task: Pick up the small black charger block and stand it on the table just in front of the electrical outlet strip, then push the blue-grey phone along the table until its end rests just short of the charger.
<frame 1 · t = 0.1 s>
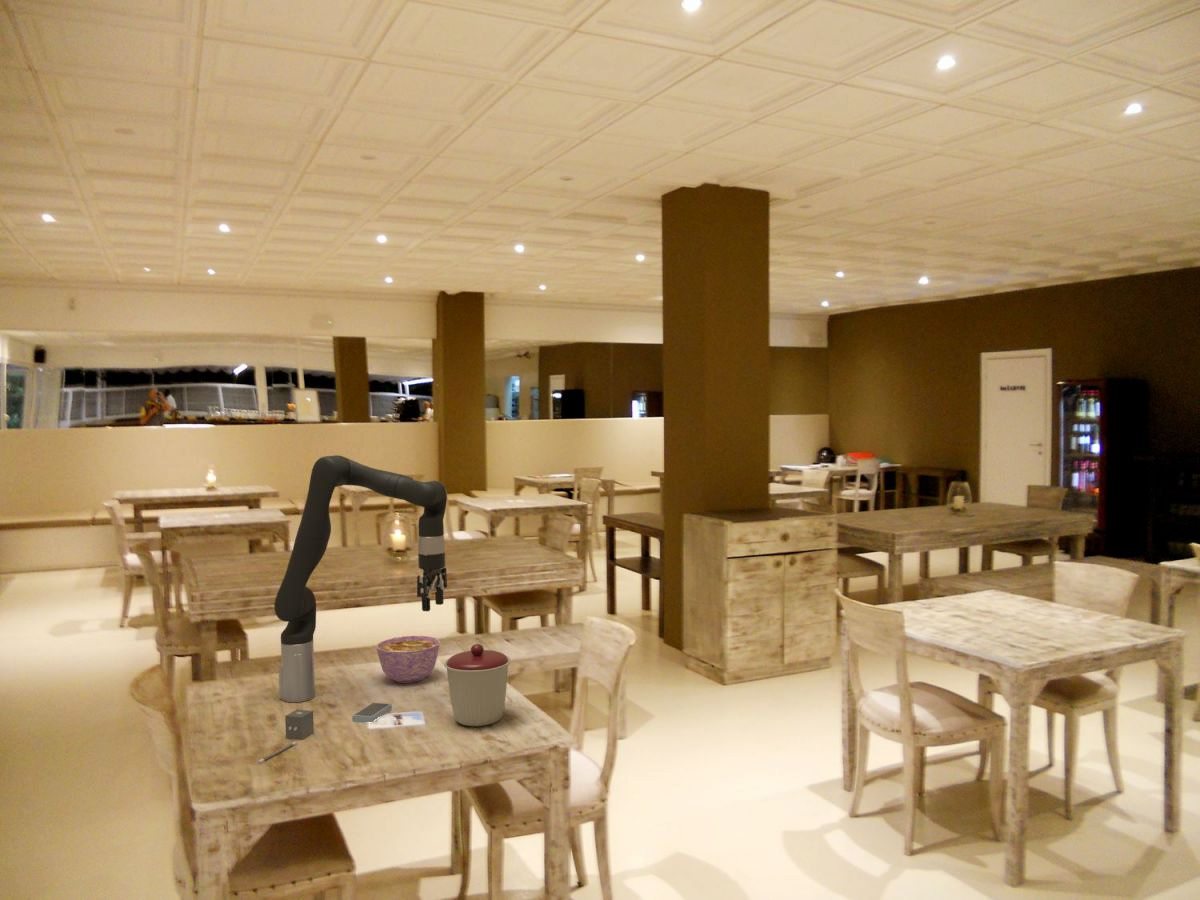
hand: (432, 607, 245), 29 cm above the table, tool pointing down, fingers open, 8 cm apart
phone: (372, 717, 241), on the table
charger: (300, 735, 227), on the table
canister: (478, 721, 236), on the table
bowl of food: (409, 679, 274), on the table
cable: (278, 753, 214), on the table
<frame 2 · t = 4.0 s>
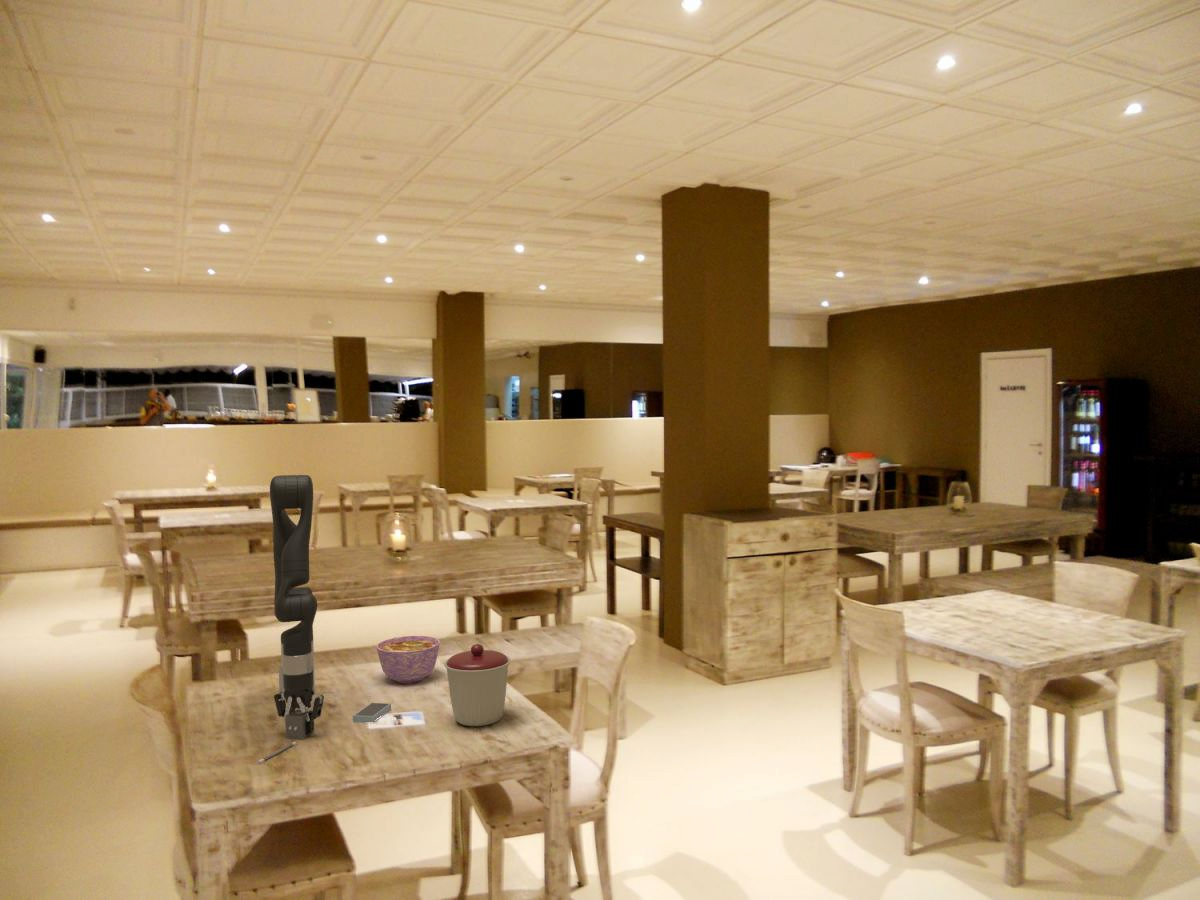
hand: (300, 732, 226), 1 cm above the table, tool pointing down, fingers closed on charger, 5 cm apart
charger: (300, 735, 227), on the table, touching gripper
everything else where it was.
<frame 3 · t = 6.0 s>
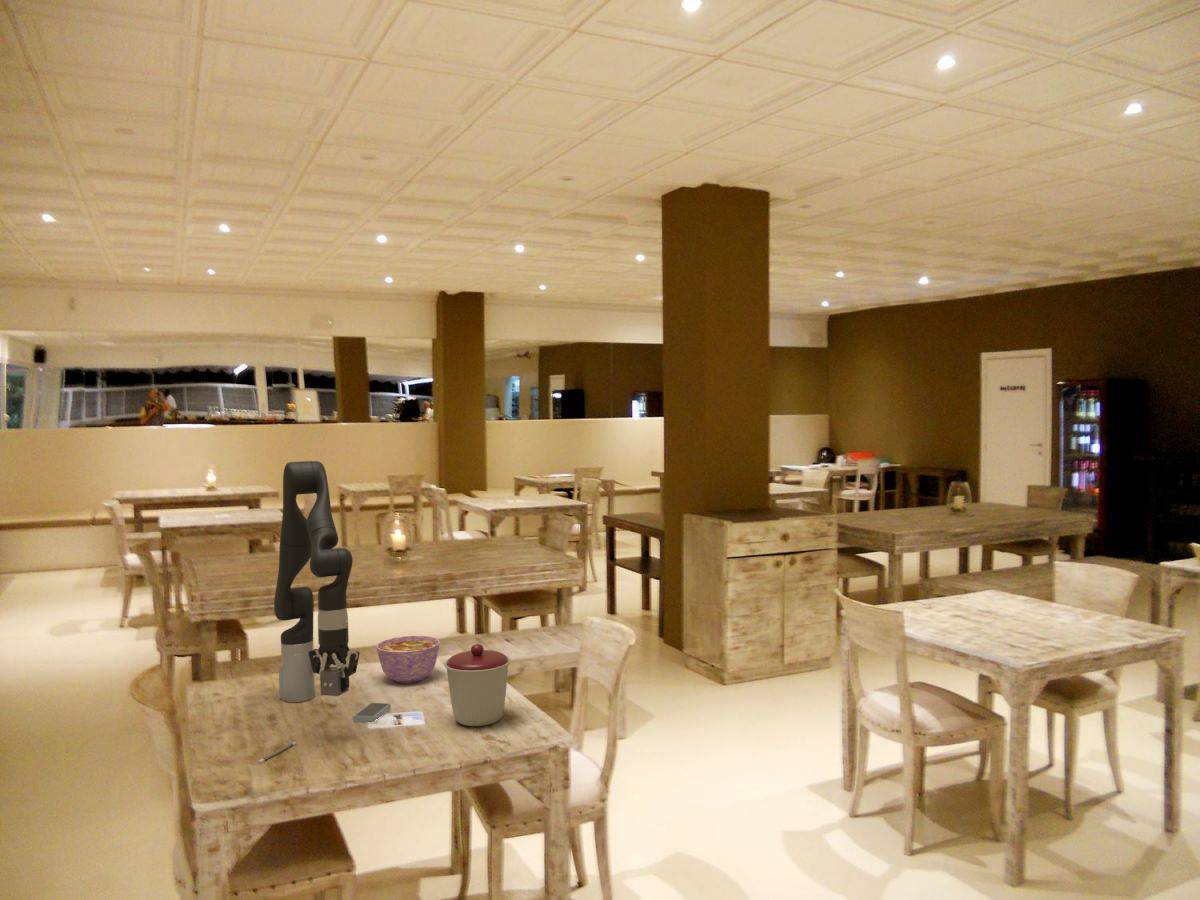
hand: (335, 689, 223), 13 cm above the table, tool pointing down, fingers closed on charger, 5 cm apart
charger: (334, 692, 223), point 12 cm above the table, touching gripper
everything else where it was.
when the fingers open (2 cm above the table, at t = 8.0 s): charger drops 1 cm, on the table.
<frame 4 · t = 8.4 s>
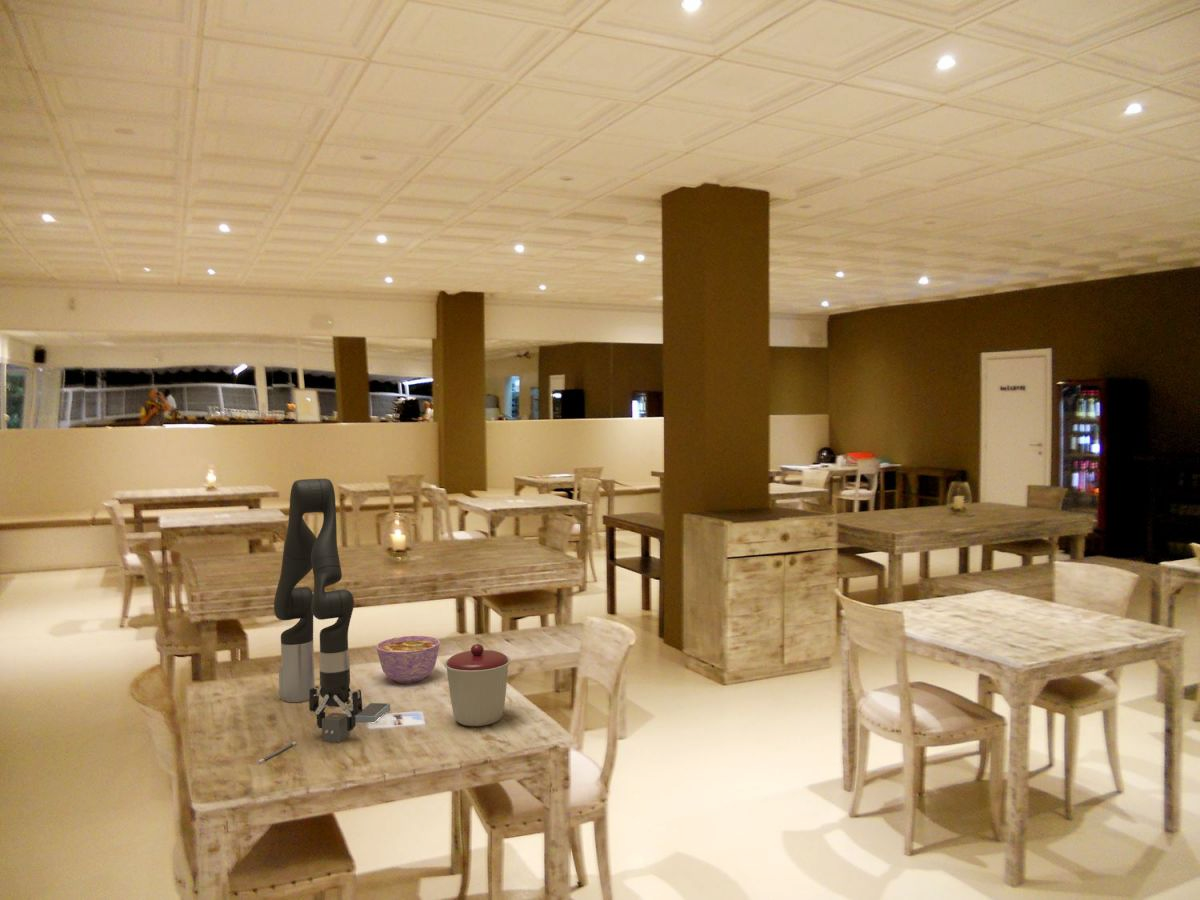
hand: (336, 728, 224), 3 cm above the table, tool pointing down, fingers open, 8 cm apart
charger: (336, 739, 224), on the table
everything else where it was.
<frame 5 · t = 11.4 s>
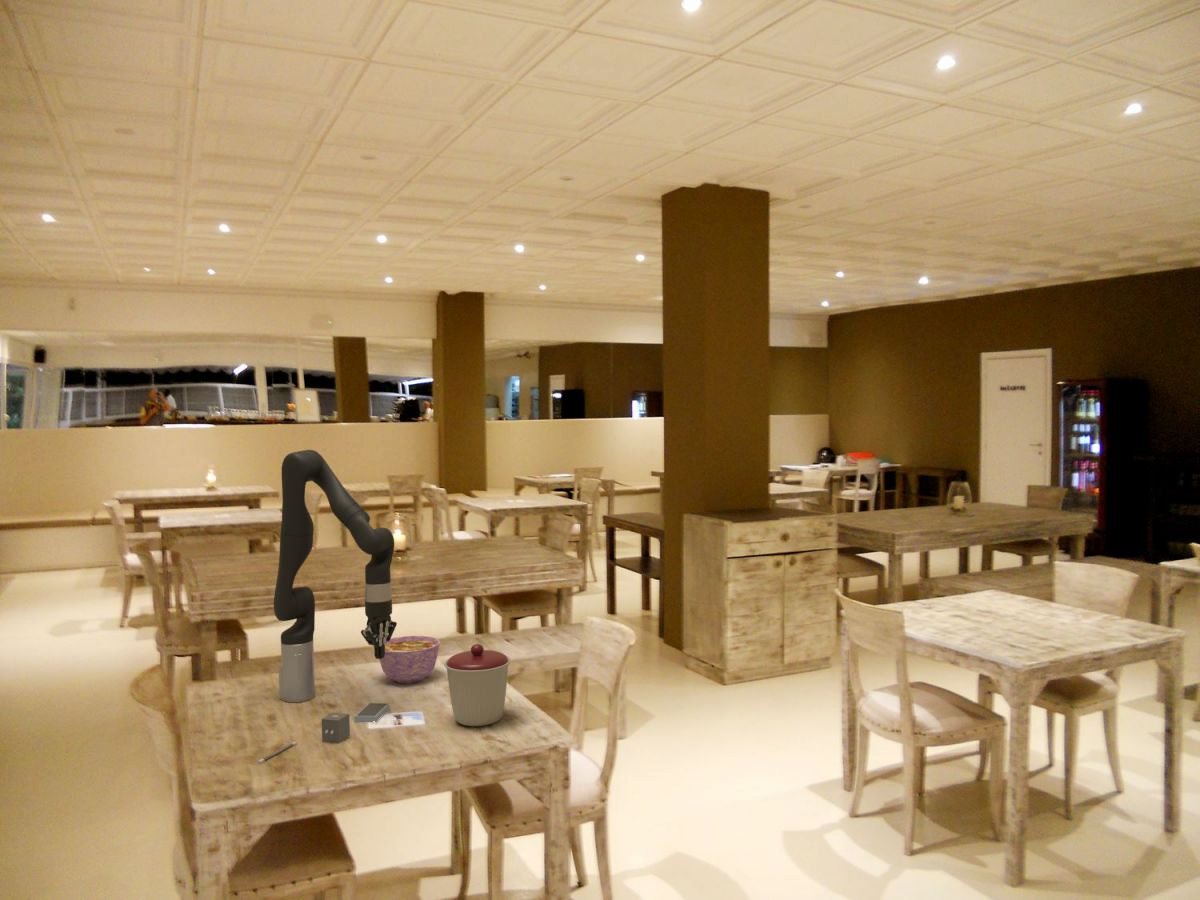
hand: (379, 658, 245), 15 cm above the table, tool pointing down, fingers closed
nothing on the table moved.
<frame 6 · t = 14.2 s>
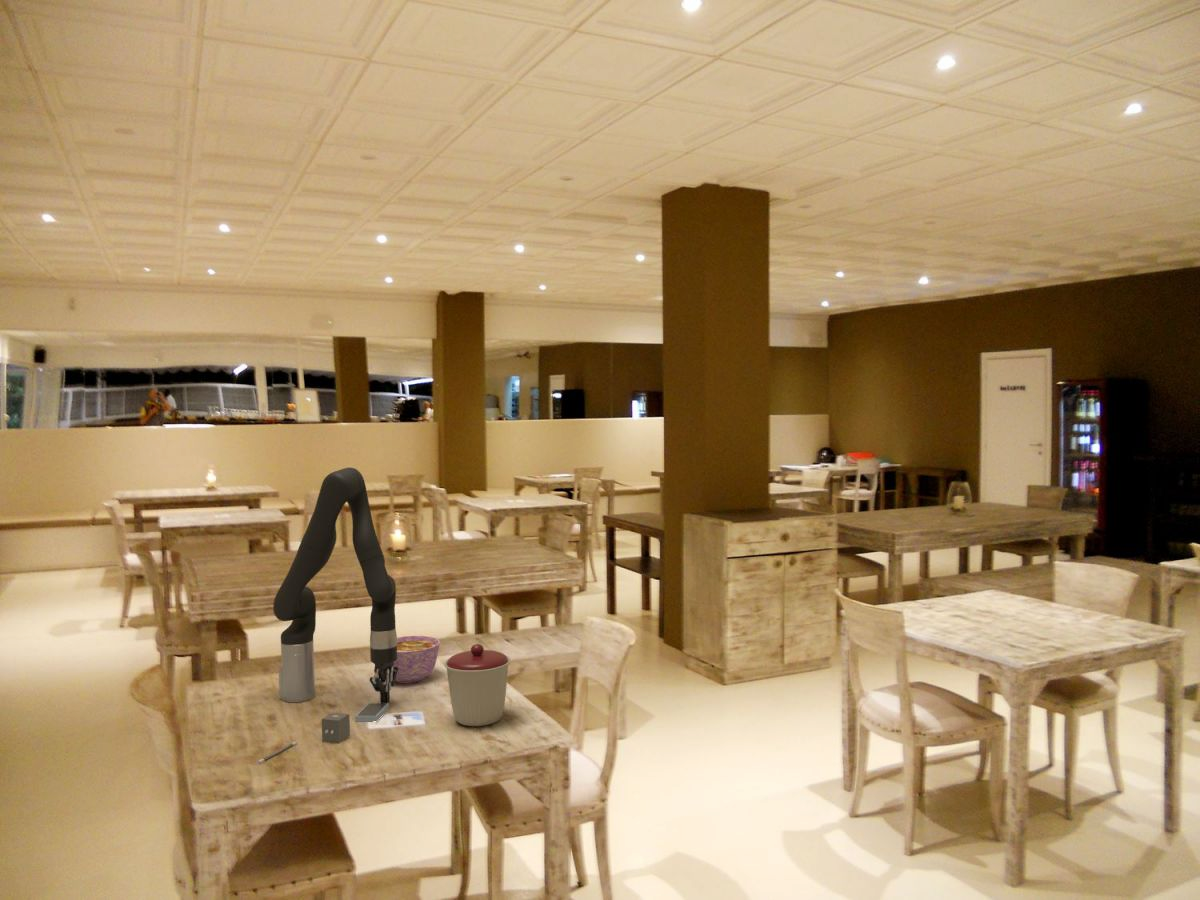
hand: (385, 703, 248), 1 cm above the table, tool pointing down, fingers closed
phone: (372, 717, 241), on the table, touching gripper
everything else where it was.
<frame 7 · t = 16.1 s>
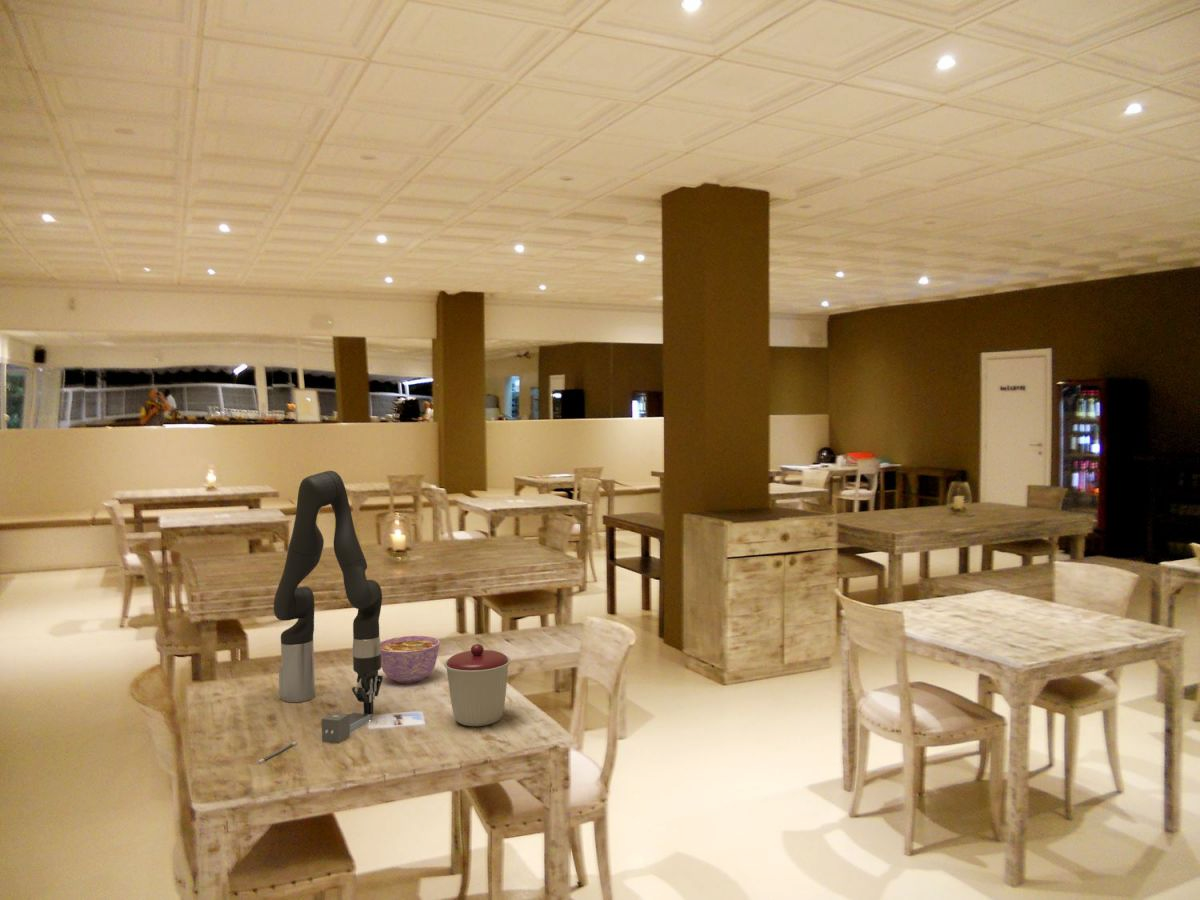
hand: (368, 714, 239), 1 cm above the table, tool pointing down, fingers closed
phone: (349, 727, 233), on the table, touching gripper
everything else where it was.
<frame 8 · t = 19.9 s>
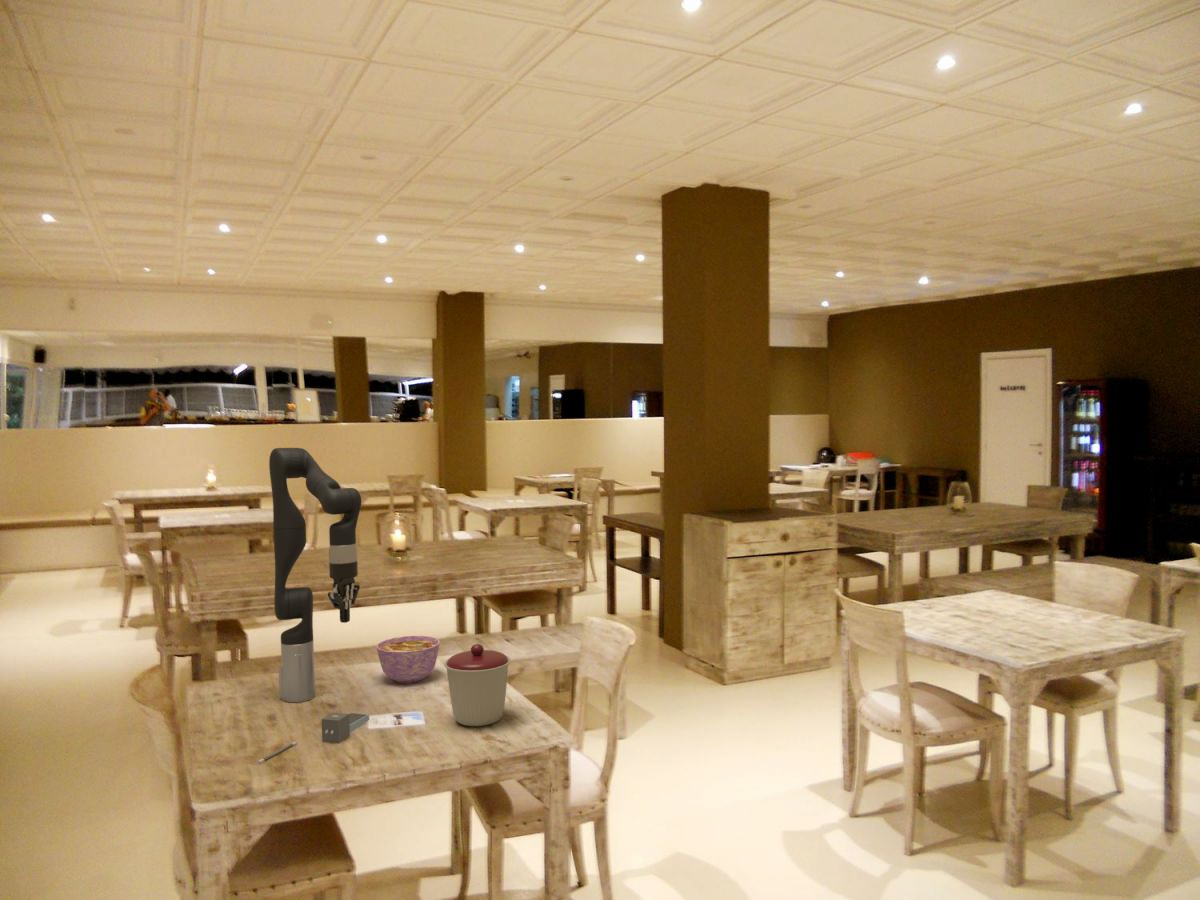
hand: (345, 621, 239), 27 cm above the table, tool pointing down, fingers closed
phone: (348, 728, 233), on the table
everything else where it was.
at the end: charger inside the target area (0.1 cm from its centre), on the table; charger tilted 0°; phone 9.1 cm from the charger (horizontally) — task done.
